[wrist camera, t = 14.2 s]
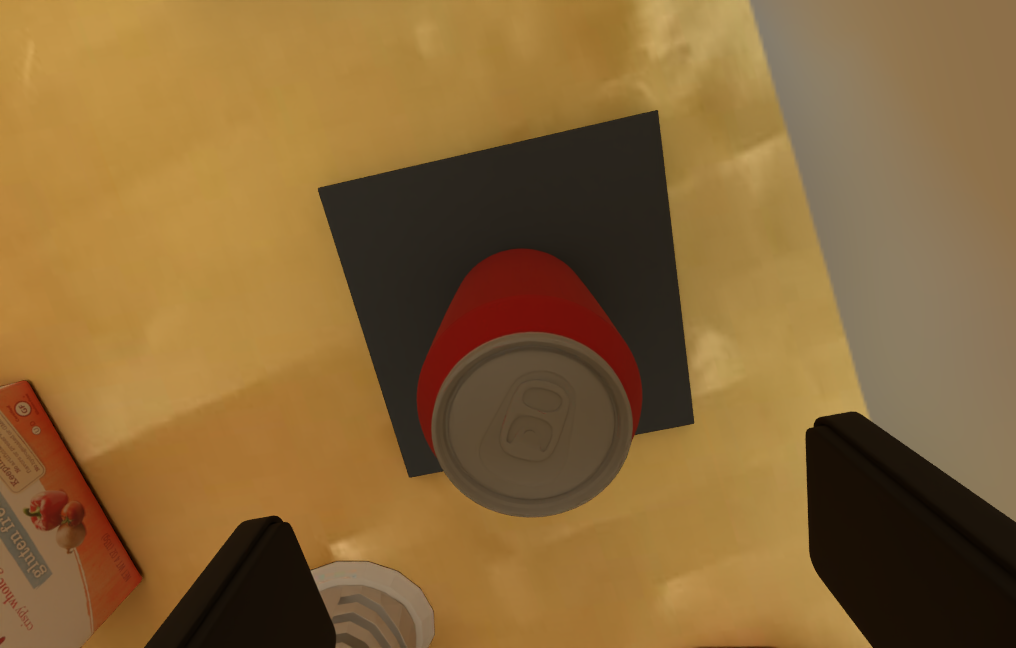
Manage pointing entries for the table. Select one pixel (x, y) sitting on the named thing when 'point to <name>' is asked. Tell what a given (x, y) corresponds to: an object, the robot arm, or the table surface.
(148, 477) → the table surface
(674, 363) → the mat
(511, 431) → the beverage can
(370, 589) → the french press
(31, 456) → the cracker box
